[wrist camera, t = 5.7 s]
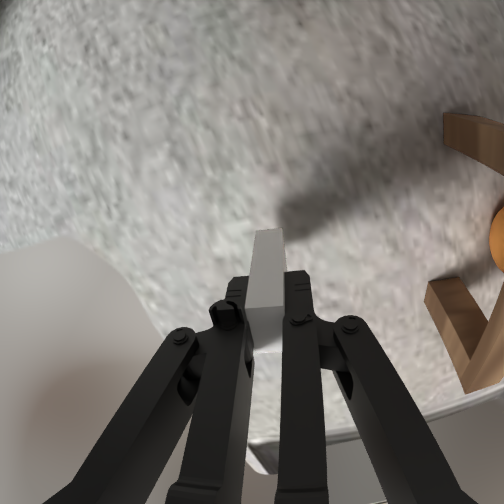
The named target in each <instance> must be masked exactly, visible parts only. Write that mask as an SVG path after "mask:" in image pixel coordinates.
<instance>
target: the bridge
mask: <svg viewBox="0 0 504 504" xmlns="http://www.w3.org/2000/svg"><path fill="white" fill-rule="evenodd" d="M443 123H444V144H445V145H447V146H449V147H451V148H453V149H455V150H457V151H459V152H461V153H463V154H465V155H467V156H469V157H471V158H473V159H475V160H477V161H478V162H480V163H482V164H484V165H486V166H488V167H489V168H491V169H493V170H495V171H496V172H498V173H500V174H501V175H503V176H504V124H502V123H499V122H496V121H493V120H490V119H486V118H483V117H480V116H473V115H463V114H452V113H443ZM424 303H425V305H426V307H427V309H428V311H429V313H430V315H431V317H432V319H433V321H434V323H435V325H436V327H437V329H438V331H439V333H440V336H441V338H442V340H443V342H444V344H445V347H446V349H447V351H448V353H449V356H450V358H451V360H452V363H453V365H454V367H455V370H456V372H457V375H458V377H459V380H460V382H461V385H462V387H463V390H464V393H465V394H468V393H471V392H474V391H477V390H480V389H483V388H486V387H489V386H491V385H494V384H497V383H499V382H500V381H501V379H502V378H503V376H504V282H503V285H502V288H501V291H500V294H499V296H498V299H497V302H496V304H495V307H494V309H493V312H492V314H491V317H490V319H489V322H488V320H487V319H486V317H485V316H484V314H483V312H482V311H481V309H480V308H479V306H478V304H477V303H476V301H475V300H474V298H473V297H472V295H471V294H470V292H469V291H468V289H467V288H466V286H465V285H464V284H463V282H462V281H461V279H460V278H459V277H457V278H450V279H444V280H437V281H431V282H428V286H427V290H426V295H425V299H424Z"/></svg>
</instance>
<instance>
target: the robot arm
mask: <svg viewBox="0 0 504 504" xmlns="http://www.w3.org/2000/svg"><path fill="white" fill-rule="evenodd" d="M209 313H210V316H211V319H212V322H213V327H212V328H210V329H208V330H205V331H202V332H198V333H195V332H194V331H193V330H192V329H191V328H188V327H181V328H177V329H175V330H173V331H171V332H170V333H169V335H168V336H167V337H166V339H165V340H164V341H163V343H162V344H161V346H160V347H159V349H158V350H157V352H156V353H155V355H154V356H153V358H152V359H151V361H150V362H149V364H148V365H147V367H146V368H145V369H144V371H143V373H142V374H141V376H140V377H139V378H138V380H137V381H136V383H135V384H134V386H133V387H132V389H131V390H130V392H129V394H128V395H127V396H126V398H125V400H124V401H123V403H122V404H121V406H120V407H119V409H118V410H117V412H116V413H115V415H114V416H113V418H112V419H111V421H110V422H109V424H108V425H107V427H106V429H105V430H104V432H103V433H102V435H101V436H100V438H99V439H98V441H97V443H96V444H95V446H94V447H93V449H92V450H91V452H90V453H89V455H88V457H87V458H86V460H85V461H84V463H83V464H82V466H81V467H80V469H79V471H78V472H77V474H76V476H75V477H74V479H73V480H72V482H71V483H69V484H68V485H67V486H65V487H64V488H63V489H62V490H60V491H59V492H57V493H56V494H55V495H53V496H52V497H51V498H49V499H48V500H47V501H45V502H44V503H43V504H145V503H146V501H147V499H148V497H149V495H150V493H151V492H152V490H153V488H154V486H155V484H156V482H157V480H158V478H159V476H160V474H161V473H162V471H163V469H164V467H165V465H166V463H167V462H168V460H169V458H170V456H171V454H172V452H173V450H174V448H175V446H176V444H177V443H178V441H179V439H180V437H181V435H182V433H183V431H184V429H185V427H186V425H187V423H188V421H189V420H190V418H191V416H192V420H191V424H190V428H189V433H188V437H187V442H186V447H185V452H184V456H183V461H182V465H181V470H180V475H179V478H178V480H177V482H175V483H174V484H172V485H171V486H170V488H169V490H168V493H167V497H166V501H165V504H241V496H242V487H243V476H244V466H245V458H246V448H247V438H248V428H249V417H250V407H251V396H252V386H253V375H254V364H255V363H254V357H253V349H254V350H255V353H272V352H282V384H281V418H280V445H279V467H278V485H277V490H276V494H275V501H274V504H329V494H328V487H327V462H326V439H325V422H324V406H323V393H322V380H321V368H322V369H328V370H332V371H333V374H334V376H335V379H336V381H337V383H338V385H339V388H340V390H341V392H342V394H343V397H344V399H345V401H346V404H347V406H348V408H349V411H350V413H351V415H352V418H353V420H354V422H355V425H356V427H357V429H358V432H359V434H360V436H361V439H362V441H363V443H364V446H365V448H366V451H367V453H368V455H369V458H370V460H371V463H372V465H373V467H374V470H375V472H376V475H377V477H378V479H379V482H380V484H381V487H382V489H383V492H384V494H385V497H386V499H387V502H388V504H478V503H477V502H476V501H474V500H473V499H472V498H470V497H469V496H468V495H467V494H466V493H465V492H463V491H462V490H461V489H460V486H459V484H458V482H457V480H456V478H455V476H454V474H453V472H452V470H451V468H450V466H449V464H448V462H447V460H446V459H445V457H444V455H443V453H442V451H441V449H440V447H439V445H438V443H437V441H436V440H435V438H434V436H433V434H432V432H431V430H430V429H429V427H428V425H427V423H426V421H425V420H424V418H423V416H422V414H421V412H420V411H419V409H418V407H417V405H416V404H415V402H414V400H413V399H412V397H411V395H410V393H409V392H408V390H407V388H406V387H405V385H404V383H403V381H402V380H401V378H400V376H399V375H398V373H397V371H396V370H395V368H394V367H393V365H392V363H391V362H390V360H389V358H388V357H387V355H386V353H385V352H384V350H383V349H382V347H381V345H380V344H379V342H378V341H377V339H376V337H375V336H374V334H373V333H372V331H371V330H370V328H369V326H368V325H367V323H366V322H365V321H364V320H363V319H362V318H360V317H358V316H353V315H348V316H343V317H341V318H339V319H338V320H337V321H336V322H335V323H334V322H328V321H324V320H322V319H320V318H319V317H317V316H316V314H315V312H314V308H313V300H312V292H311V284H310V276H309V275H308V274H307V273H306V271H305V270H301V271H290V272H287V263H286V254H285V246H284V238H283V230H282V228H277V229H267V230H258V231H256V234H255V240H254V247H253V254H252V261H251V268H250V275H249V276H241V277H233V279H232V280H231V281H230V282H229V283H228V287H227V292H226V296H225V299H224V300H220V301H218V302H216V303H214V304H213V305H212V306H211V307H210V309H209ZM192 414H193V415H192Z"/></svg>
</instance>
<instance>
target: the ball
mask: <svg viewBox="0 0 504 504" xmlns="http://www.w3.org/2000/svg"><path fill="white" fill-rule="evenodd" d="M489 244H490V251H491V254H492V257H493V259H494V261H495V263H496V265H497V266H498V267H499V269H500V270H501V271H502V272H503V273H504V207H503V208H502V209H501V210H500V211H499V212H498V213H497V215H496V216H495V218H494V220H493V222H492V225H491V229H490V235H489Z"/></svg>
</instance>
